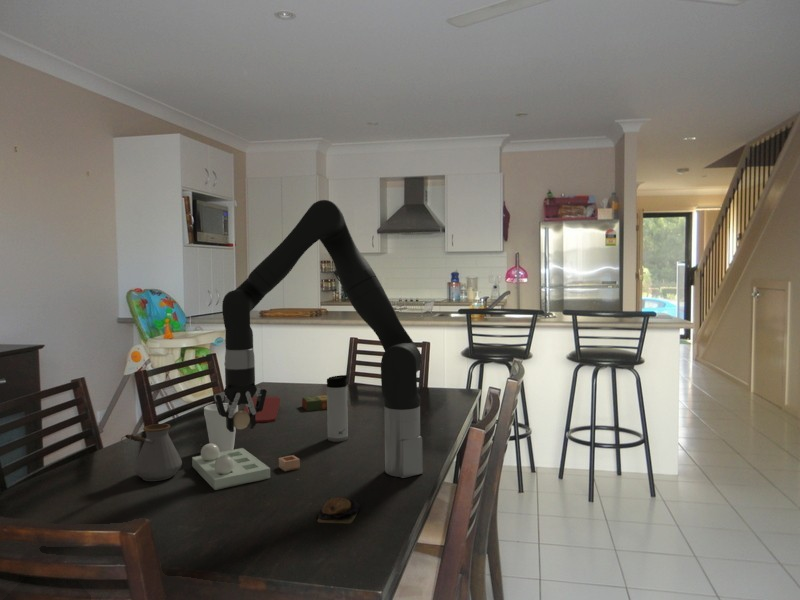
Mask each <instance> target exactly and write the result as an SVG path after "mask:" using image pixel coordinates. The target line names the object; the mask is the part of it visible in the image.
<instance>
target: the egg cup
mask: <svg viewBox="0 0 800 600" xmlns="http://www.w3.org/2000/svg"><path fill="white" fill-rule="evenodd" d="M278 468H279V469H281V470H282V471H283V472H290V471H294V470H300V469H301V459H300V458H299V457H297V456H295V454H292V455H286V456H283V457H279V458H278Z"/></svg>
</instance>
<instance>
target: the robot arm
mask: <svg viewBox="0 0 800 600" xmlns="http://www.w3.org/2000/svg"><path fill="white" fill-rule="evenodd" d="M344 217H345V216H344V215H343V212H342V211H341V209H340V208H339V206H338V205H337V204H336V203H334V202H333V201H331V200H328V199H320V200H316V202H313V203H312V204H311V205H310V207H309V208H308V209H307V210H306V212H305V213H304V214H303V216H302V217H301V219H300V220H299V221H298V222H297V224H296V225H295V227H294V228H293V229H292V230H291V231H290V233H289V234H288V235H287V236H286V237H285V238H284V239H283V240H282V241H281V242H280V243H279V245H278V246H277V247H275V249H273V250H272V252H270V253H269V254H268V255H267V256H266V257H265V258H264V259H263V260H262V261H261V262H260V263H259V264H257V266H256V267H254V269H252V271H250V273H249V275H248V277H247V278H245V280H244V281H243V282H242V283H241V284H240V285H239V286H237V288H235V289H233V290H231V291H228V292H227V293H226V294H225V295H224V297H223V300H222V310H221V311H222V319H223V324H224V325H223V326H224V329H225V330H224V331H225V337H224V338H225V340H224V341H225V352H224V353H225V354H224V373H225V375H224V383H225V387H224V388H223V389H224V390H223V391H221V392H219V393H214V394H213V400H214V404H216V406H217V410H218V413H219V415H221V416H222V417H226V428H227V429H228V430H229V431H230V432H234V418H233V414H234V411H235V409H236V407H237V405H238V406H239V405H242V404H243V405H246V406H247V408H248V411H249V416H250V423H249V425H248V426H247V427H248V429H250V430H254V427H256V424H257V423H256V421H255V420H256V419H255V415H256V413H257V412H259V411H260V412H261V411H262V410H263V406H264V401H265V397H267V393H268V392H267V389H265V388H263V387H260V388H259V387H257V386H256V368H255V367H256V366H255V363H256V361H255V352H254V331H253V329H252V327H251V312H252V311H253V310H254V309H255V308H256V307H257V305H258V304H259V303H260V302H261V301H262V300H263V299H264V298H265V296H266V295H267V294H269V293H270V292H271V291H273V290H274V288H275V287H277V286H278V284H279V283H281V282H282V281H283V280H284V279H285V278H286V277H287V276H288V275H289V274H290V272H291V271H292V270H293V268H294V267H295V266H296V264H297V262H298V261H299V260H300V258H301V257H302V256H303V255H304V254H305V252H306V251H308V249H310V248H311V247H312V245H314V244H316V242H318V241H320V242H321V244H322V246H323V247H324V248H325V250H326V251H327V253H328V255H329V256H330V258H331V260H332V261H333V264H334V268H335V270H336V274H337V276H338V278H339V282H340V284H341V286H342V288H343V291H344V292H345V295H346V297H347V299H348V300H349V302H350V304H351V305H352V306H351V307H353V308H354V309H353V310H355V312H356V313H357V314H358V315H359V316H360V317H361V319H362V320H363V321H364V323H366V325H368V326H369V327H370V329H371V330H372V331H373V332H374V333H375V335H376V336H377V338H378V340H379V342H380V344H381V347H382V348H383V350H384V352H383V354H382V357H381V361H380V378H381V379H380V380H381V394H382V397H383V406H384V407H383V409H384V419H383V420H384V421H383V422H384V465H385V466H384V471H385V473H386V474H387V475H389V476H392V477H396V478H397V477H399V478H401V479H405V478H410V477H413V476H418V475H421V474H423V472H424V471H423V437H422V436H421V396H420V394H419V393H418V383H417V382H418V381H417V380H418V378H417V377H418V376H417V373H418V372H419V370H420V369H421V366H422V363H423V362H422V360H423V359H422V353H421V352H420V350H419V348H418V347H417V345H416V343H415V342H414V341H413V339H412V338H411V337H410V335H409V334H408V332H407V331H406V329H405V328H404V326H403V325H402V323H401V321H400V319H399V318H398V315H397V313H396V311H395V309H394V307H393V305H392V303H391V301H390V299H389V297H388V296H387V294H386V291H385V290H384V288H383V286H382V284H381V282H380V280H379V278H378V277H377V275H376V273H375V271H374V269H373V268H372V267H371V265H370V264H369V262H368V261H367V259H366V258H365V257H364V255H363V254H362V252H360V250H359V249H358V247H357V244H355V241H354V240H353V237H352V235H351V233H350V230H349V228H348V226H347V223H346V220H345V218H344ZM255 394H256V396H257V402H256V406H255V407H254V403H253V401H252V398H253V397H254V396H255ZM225 397H226V398H227V400H228V402H227V403H228V405H227V411H225V409H224V406H223V403H224V400H225Z"/></svg>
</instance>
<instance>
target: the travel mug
mask: <svg viewBox="0 0 800 600" xmlns="http://www.w3.org/2000/svg"><path fill="white" fill-rule="evenodd" d="M348 378H349V375H348V374H342V375H341V374H340V375H333V376H330V377H328V378H326V395H327V409H326V410H327V411H326V412H327V413H326V416H327V417H326V419H327V420H326V421H327V441H329V442H332V443H340V442H341V443H342V442H345V441H347V440H348V439H349V434H348V433H349V431H348V429H349V428H348V427H349V426H348V425H349V423H348V418H349V417H348V407H347V400H348V385H347V384H348V380H347V379H348Z"/></svg>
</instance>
